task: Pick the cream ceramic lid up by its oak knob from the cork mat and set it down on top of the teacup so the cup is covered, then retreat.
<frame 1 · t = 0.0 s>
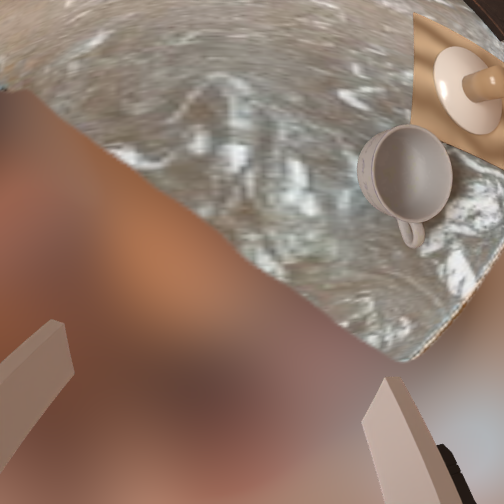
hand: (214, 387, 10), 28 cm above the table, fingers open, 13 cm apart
mat: (467, 90, 30), on the table
lid: (468, 90, 29), resting on mat
teacup: (387, 183, 35), on the table
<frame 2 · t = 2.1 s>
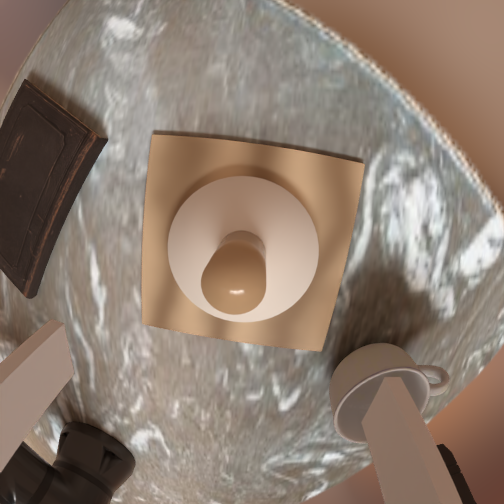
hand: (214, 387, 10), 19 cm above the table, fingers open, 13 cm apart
hardcover book: (28, 189, 28), on the table
mat: (242, 250, 28), on the table
lid: (242, 251, 28), resting on mat
teacup: (377, 365, 32), on the table
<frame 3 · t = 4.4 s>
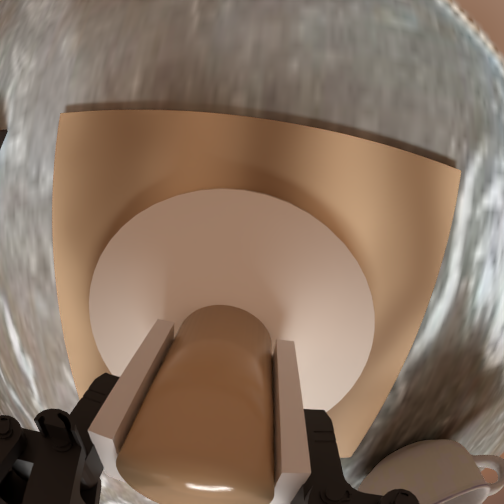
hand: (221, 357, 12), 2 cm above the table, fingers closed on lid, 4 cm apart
mat: (228, 331, 14), on the table
lid: (226, 335, 14), resting on mat, touching gripper
teacup: (420, 455, 18), on the table
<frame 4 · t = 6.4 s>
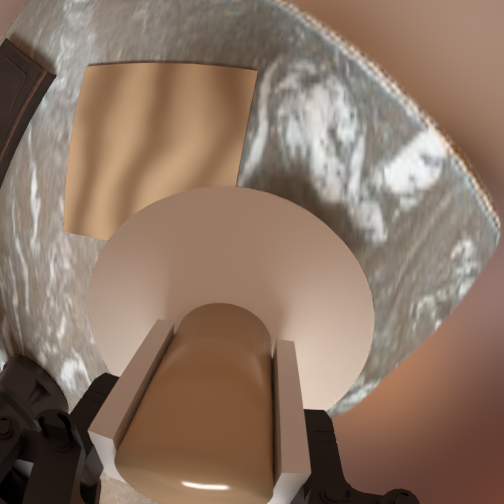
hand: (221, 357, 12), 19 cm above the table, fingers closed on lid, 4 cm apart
mat: (145, 153, 28), on the table
lid: (225, 334, 14), point 17 cm above the table, touching gripper
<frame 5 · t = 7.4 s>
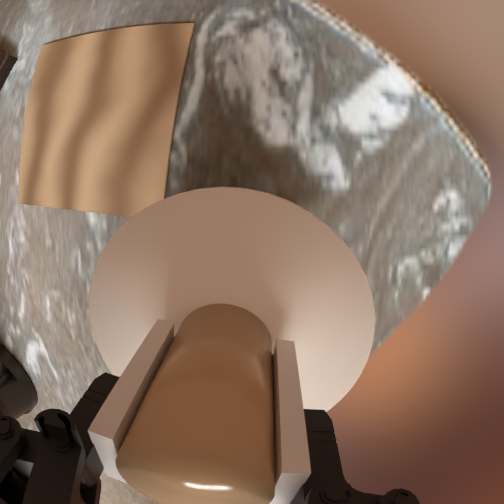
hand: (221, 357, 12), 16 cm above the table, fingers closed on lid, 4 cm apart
mat: (87, 115, 24), on the table
lid: (226, 334, 14), point 14 cm above the table, touching gripper
when the fingers open (11 cm above the table, at t = 8.4 s): lid drops 2 cm, resting on teacup.
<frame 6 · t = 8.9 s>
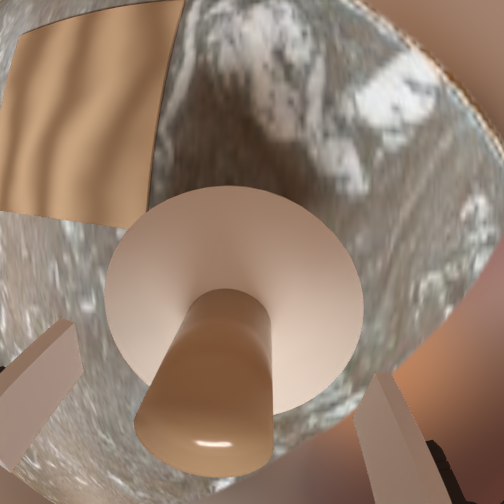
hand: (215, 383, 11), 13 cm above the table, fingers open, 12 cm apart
mat: (63, 109, 20), on the table
lid: (230, 318, 16), point 8 cm above the table, touching teacup
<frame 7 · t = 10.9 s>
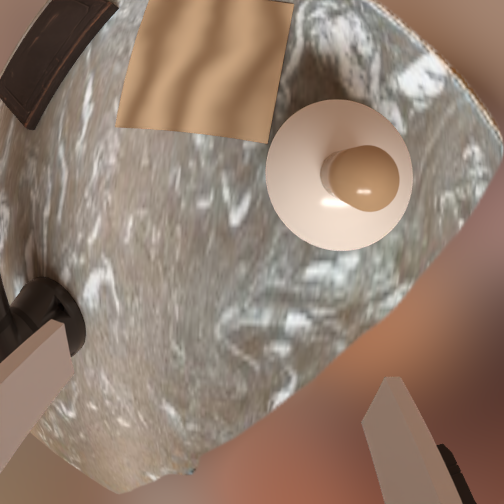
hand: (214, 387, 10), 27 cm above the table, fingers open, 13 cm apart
hardcover book: (51, 52, 31), on the table
mat: (201, 58, 30), on the table
lid: (341, 174, 26), point 8 cm above the table, touching teacup
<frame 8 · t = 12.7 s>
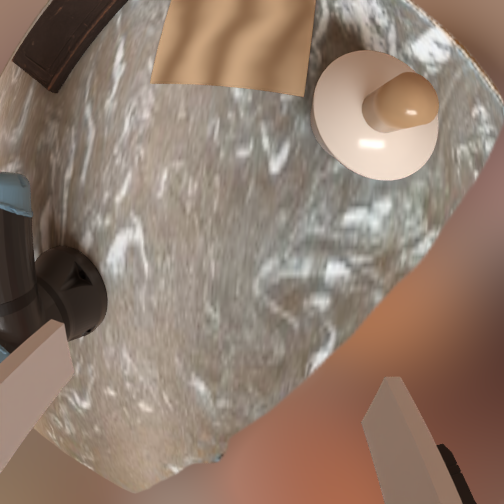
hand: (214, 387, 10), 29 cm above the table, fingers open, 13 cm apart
hardcover book: (76, 21, 30), on the table
mat: (236, 22, 30), on the table
lid: (378, 113, 26), point 8 cm above the table, touching teacup
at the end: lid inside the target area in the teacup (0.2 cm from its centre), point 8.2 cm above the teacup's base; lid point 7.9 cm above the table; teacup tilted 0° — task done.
